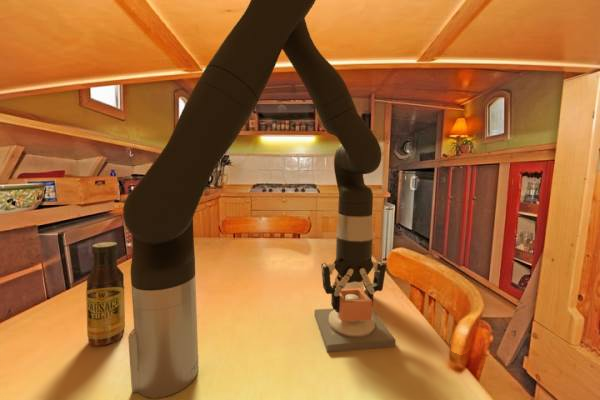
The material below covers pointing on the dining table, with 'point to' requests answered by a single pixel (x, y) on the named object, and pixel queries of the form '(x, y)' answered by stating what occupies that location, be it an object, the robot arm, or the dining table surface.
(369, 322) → the post plate
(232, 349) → the dining table surface
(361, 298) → the collar
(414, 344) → the dining table surface
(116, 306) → the sauce bottle
